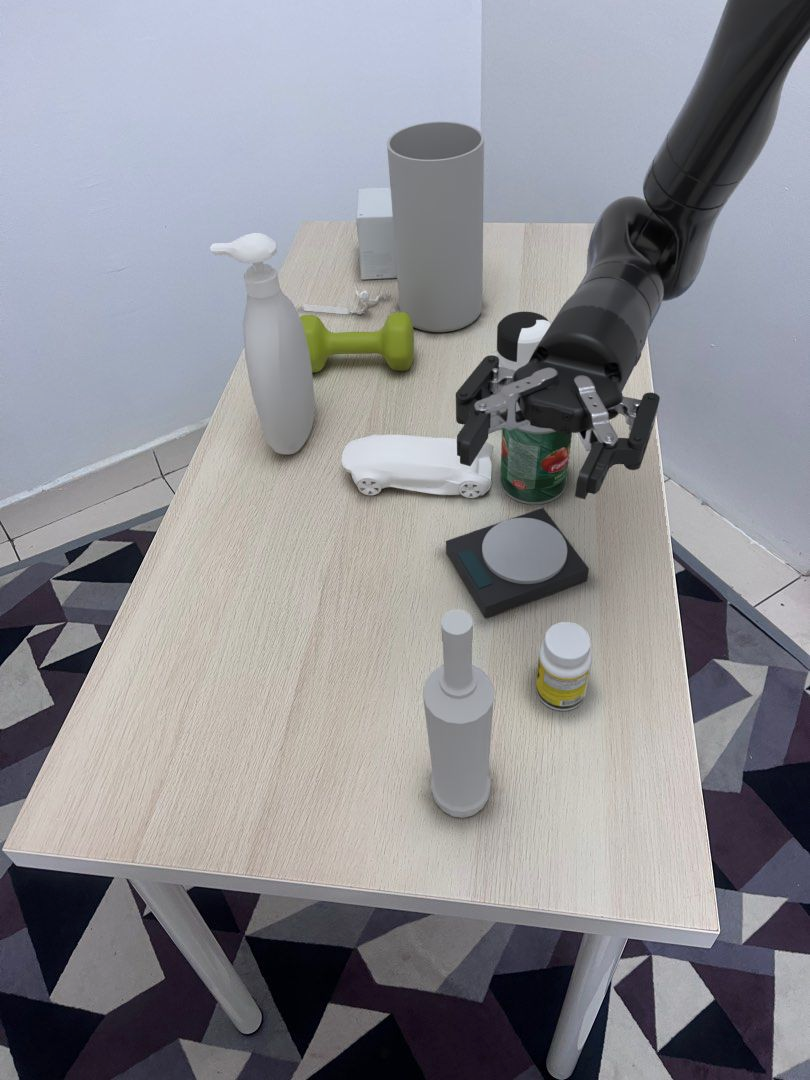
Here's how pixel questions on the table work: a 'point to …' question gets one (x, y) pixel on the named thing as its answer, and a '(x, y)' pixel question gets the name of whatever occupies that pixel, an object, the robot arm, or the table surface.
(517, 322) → the container
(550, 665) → the supplement bottle
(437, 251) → the cylinder vase
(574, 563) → the scale
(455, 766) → the bottle
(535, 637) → the table surface
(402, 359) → the dumbbell
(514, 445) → the canned tomato
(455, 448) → the toy car
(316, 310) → the action figure
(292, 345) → the soap bottle
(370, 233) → the cosmetics box
